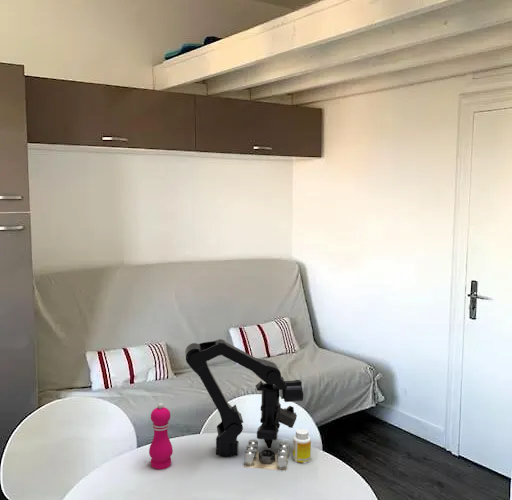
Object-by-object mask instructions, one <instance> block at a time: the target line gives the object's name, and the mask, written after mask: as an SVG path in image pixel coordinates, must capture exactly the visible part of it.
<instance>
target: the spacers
mask: <svg viewBox="0 0 512 500" xmlns="http://www.w3.org/2000/svg"><path fill="white" fill-rule="evenodd" d="M258 442H259V441H258V440H257V439H249V440H248V444H247V445H246V450H244V465H246V466H254V464H255V460H256V455H257V454H258V452H259V449H258V448H259V443H258ZM289 446H290V445H289V443H287V442H281V443H279V445H278V447H279V448H278V449H277V450H278V451H277V453H276V454H277V469H279V470H278V471H285V469H286V470H287V468H288V462H289V456H290V453H289V451H290V449H289V448H290V447H289Z"/></svg>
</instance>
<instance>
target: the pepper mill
mask: <svg viewBox="0 0 512 500" xmlns="http://www.w3.org/2000/svg"><path fill="white" fill-rule="evenodd" d="M150 419H151V420H150V421H151V422H152V430H153V438H152V440H151V443H150V446H149V450H148V453H149V454H148V455H149V457H150V458H151V459H150V466H151V468H153V469H155V468H156V469H155V470H164V469H165V470H166V469H168V468H169V467H170V466H171V465H172V457H171V456H172V455H173V453H174V452H173V451H174V450H173V445H172V443H171V440H170V438H169V434H168V433H169V432H168V429H169V427H170V422H169V421H170V419H171V411H170V409H168V407H165V406H164V404H163V403H162V402H159V403H158V404H157V407H155V408H153V410H152V411H151V412H150Z"/></svg>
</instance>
